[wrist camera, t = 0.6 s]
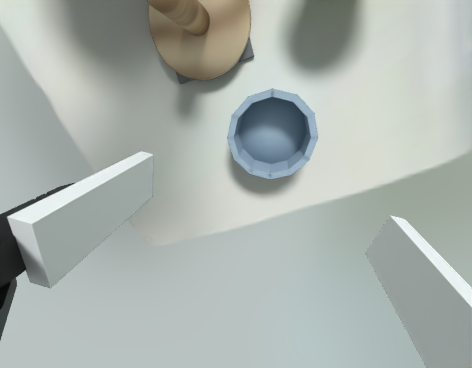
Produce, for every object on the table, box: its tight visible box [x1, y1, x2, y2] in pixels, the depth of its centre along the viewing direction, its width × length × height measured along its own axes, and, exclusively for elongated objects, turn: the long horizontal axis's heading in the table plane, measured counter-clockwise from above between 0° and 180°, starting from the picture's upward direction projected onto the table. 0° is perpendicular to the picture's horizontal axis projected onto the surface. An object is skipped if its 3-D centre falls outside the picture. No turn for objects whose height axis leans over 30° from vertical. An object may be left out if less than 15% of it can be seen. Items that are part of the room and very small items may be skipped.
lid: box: [147, 0, 251, 80], centre depth 24 cm, size 14×14×12 cm
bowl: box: [227, 89, 318, 179], centre depth 32 cm, size 12×12×6 cm
